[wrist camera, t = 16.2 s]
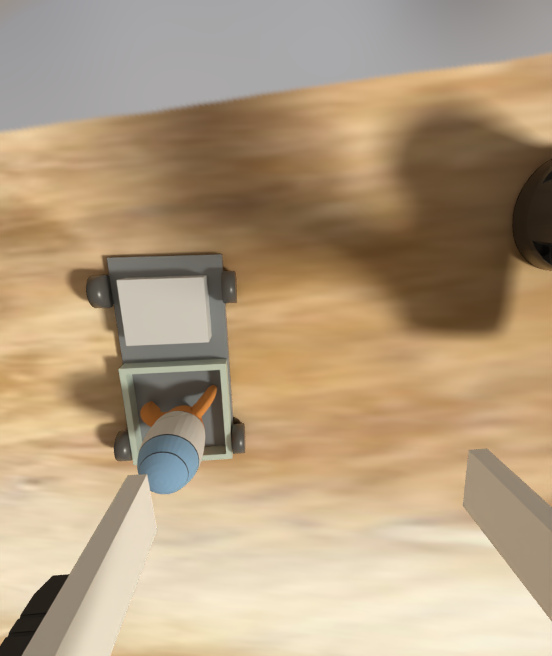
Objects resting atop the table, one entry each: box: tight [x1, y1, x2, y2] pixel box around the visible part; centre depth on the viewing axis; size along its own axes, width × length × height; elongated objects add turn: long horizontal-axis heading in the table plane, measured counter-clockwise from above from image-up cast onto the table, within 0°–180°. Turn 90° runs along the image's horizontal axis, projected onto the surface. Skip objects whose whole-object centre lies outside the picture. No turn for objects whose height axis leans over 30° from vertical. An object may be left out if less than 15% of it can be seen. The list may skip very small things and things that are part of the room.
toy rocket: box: [137, 385, 217, 494], centre depth 39 cm, size 10×11×15 cm
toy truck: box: [86, 254, 245, 465], centre depth 43 cm, size 17×28×4 cm, turn 2°
